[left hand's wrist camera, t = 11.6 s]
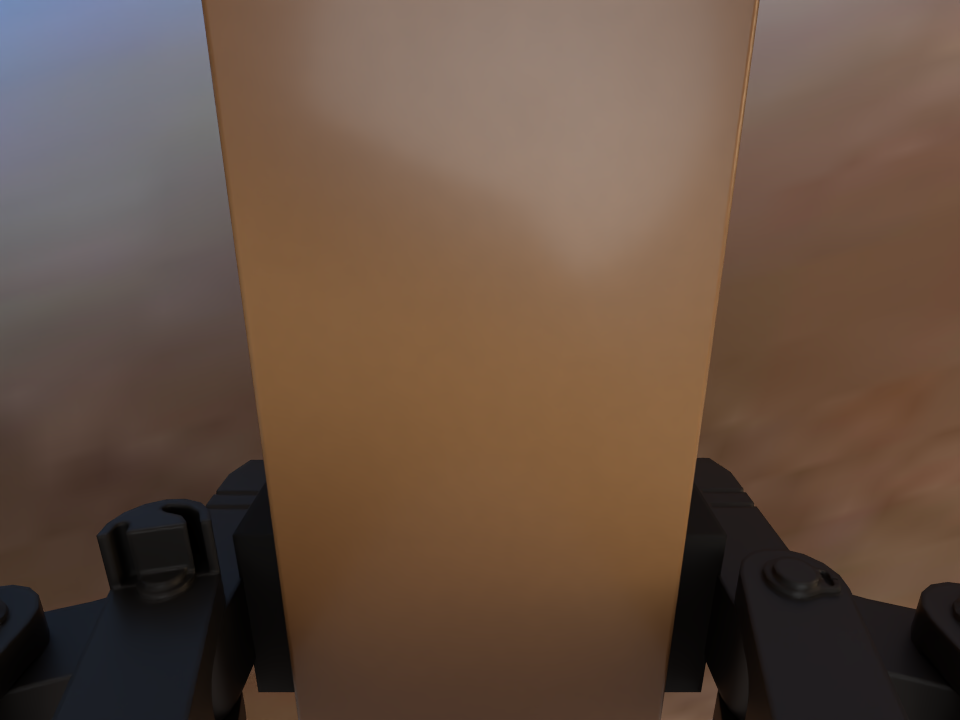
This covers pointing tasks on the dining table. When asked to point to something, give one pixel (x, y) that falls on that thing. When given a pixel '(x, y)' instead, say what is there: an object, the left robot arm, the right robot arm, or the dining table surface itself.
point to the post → (480, 334)
